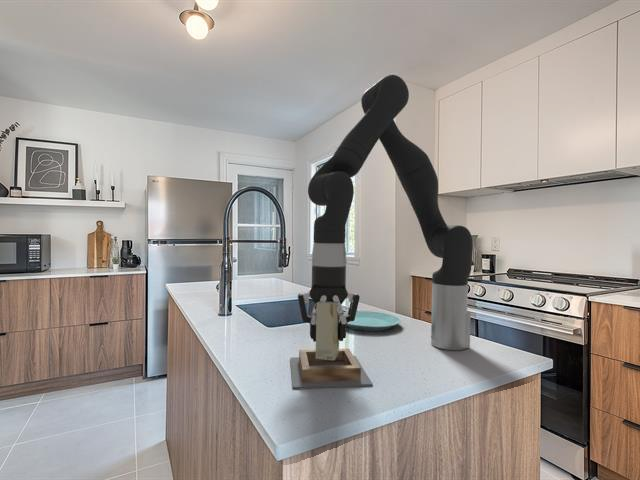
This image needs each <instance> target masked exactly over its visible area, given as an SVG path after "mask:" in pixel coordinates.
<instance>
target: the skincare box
mask: <svg viewBox="0 0 640 480" xmlns="http://www.w3.org/2000/svg"><path fill="white" fill-rule="evenodd" d="M338 336H339V315H338V312H337V303H334V302H328V301H325V302H317V312H316V342H315V349H316V359H324V360H333V361H334V360H335V359H336V357H337V355H338V352H339V349H340V341H339V338H338Z"/></svg>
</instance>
